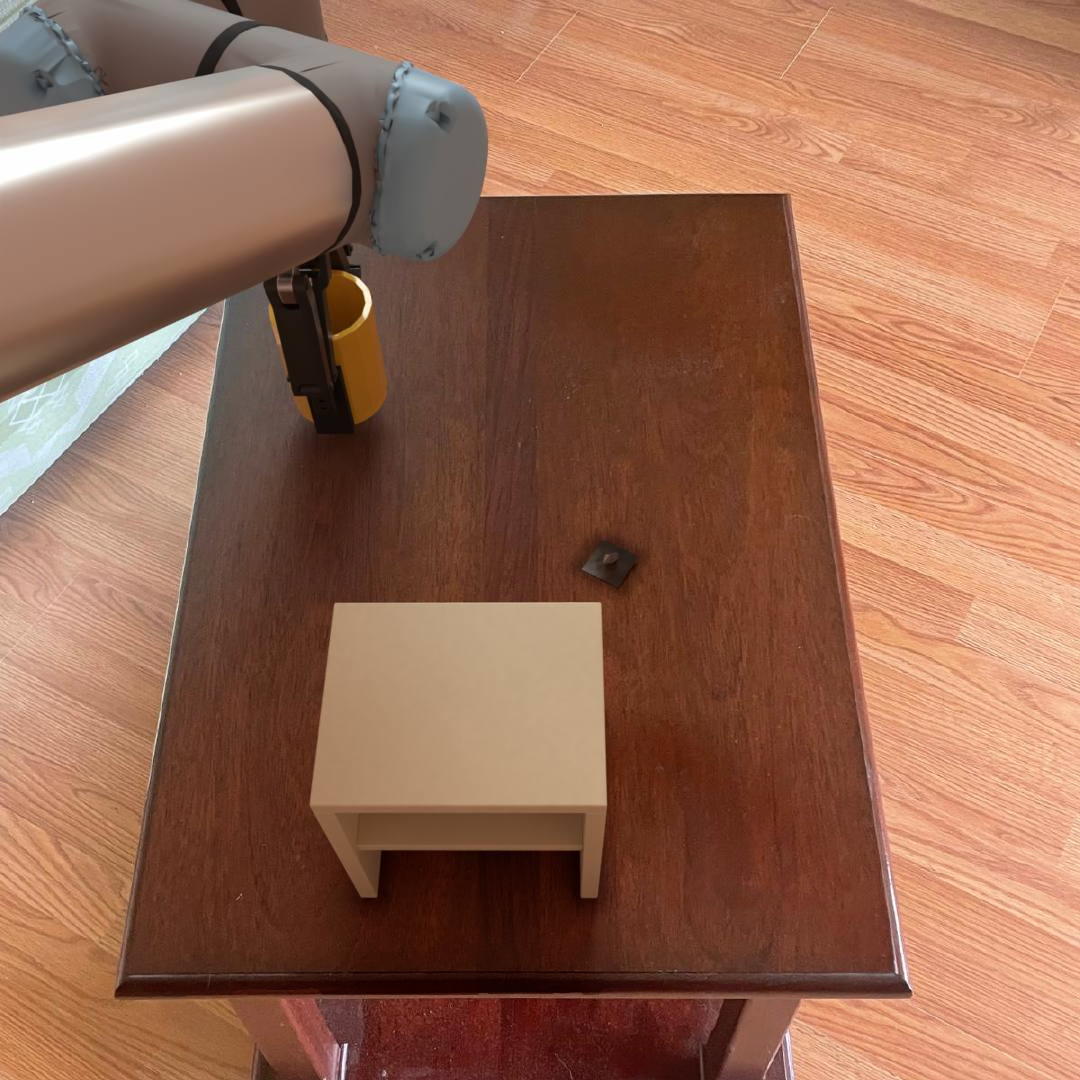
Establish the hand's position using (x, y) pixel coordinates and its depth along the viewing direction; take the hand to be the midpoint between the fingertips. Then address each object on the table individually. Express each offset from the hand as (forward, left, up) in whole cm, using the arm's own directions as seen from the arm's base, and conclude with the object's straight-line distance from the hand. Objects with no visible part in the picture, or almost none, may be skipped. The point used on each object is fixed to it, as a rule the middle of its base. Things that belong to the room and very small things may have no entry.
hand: (341, 388), depth 83 cm
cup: (0, 0, 0) cm, 0 cm away
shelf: (-9, -32, -3) cm, 33 cm away
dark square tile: (+8, -23, -3) cm, 24 cm away
